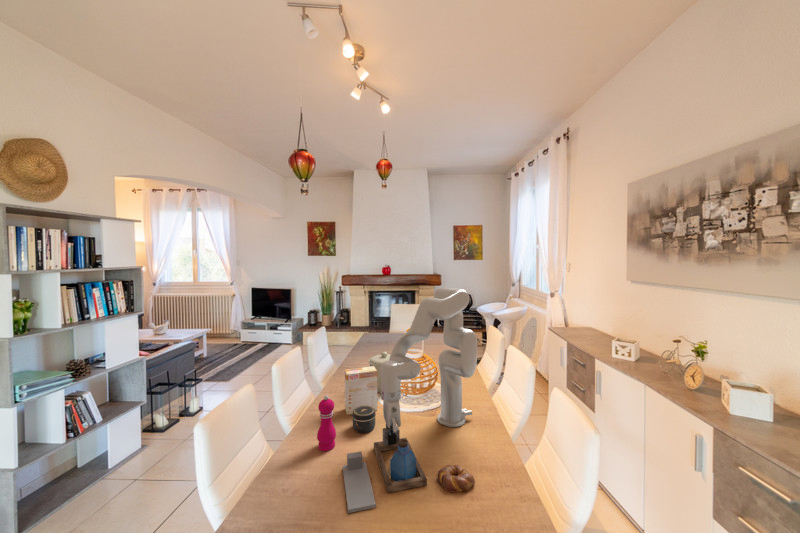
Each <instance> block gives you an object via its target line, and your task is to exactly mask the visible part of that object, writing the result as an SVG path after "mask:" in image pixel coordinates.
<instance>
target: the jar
mask: <svg viewBox="0 0 800 533" xmlns="http://www.w3.org/2000/svg"><path fill="white" fill-rule="evenodd" d="M351 415H352V416H351V417H352V428H353V430H354V432H356V433H359V434H367V433H371V432H372V431H373V430H374V429H375V426H376V410H375V409H374V408H373V407H371V406H359V407H357V408H355V409H354V410H353V413H352V414H351Z"/></svg>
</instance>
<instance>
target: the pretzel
mask: <svg viewBox="0 0 800 533" xmlns="http://www.w3.org/2000/svg"><path fill="white" fill-rule="evenodd" d="M437 481H438V483H439V484H440V485H441V486H442V488H443V489H444V490H445V491H447V492H451V493H455V492H457V491H458V492H462V491H463V492H467V491H469V490H470V488H471V487H473V486H474V485H475V482H476V481H475V477H474V475H473V474H472V473H469V471H468V469H466V468H463V467H461V466H460V465H458V464H453V465H451V464H447V465H444V466H442V467H441V468H440V469H439V470H438V471H437Z"/></svg>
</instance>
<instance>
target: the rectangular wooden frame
mask: <svg viewBox="0 0 800 533" xmlns="http://www.w3.org/2000/svg"><path fill="white" fill-rule="evenodd" d="M399 428H400V427H398V426H397V425H396V429H397V433H396V444H392V445H388V434H389V428H386V427H383V428H382V441H375V442H373V449H374V453H375V457H376V459H377V463H378V466H379V470H380V472H381V476H382V480H383V483H384V486H385V489H386V493H388V494H389V493H392V492H393V493H394V492H398V491H403V490H404V491H405V490H410V489H415V488H420V487H424V486H428V478H427V477H426V476H427V475H426V474H425V472H424V470H423V468H422V465H421V464H420V462H419V460H418V458H417V456H416V454H415V452H414V450H413V448H412V446H411V444H410V442H409V440H408V439H407V437H402V438H401V437H400V435H401V434H400V429H399ZM392 429H393V428H391V430H392ZM400 439H406V440H407V441H408V443H407V444H408V449H409V450H411V451H412V452H413V454H414V455H415V457H416V476H417V477H414V478H411V479H406V480H401V481H392V480H391V479H390V474H389V473H388V469H387V466H386V463H385V461H384V460H385V459H384V458H383V454H382V452H385V451H391V450H398V444H399V443H398V441H399V440H400Z"/></svg>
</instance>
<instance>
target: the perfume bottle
mask: <svg viewBox="0 0 800 533" xmlns="http://www.w3.org/2000/svg"><path fill="white" fill-rule="evenodd" d="M407 440H408V439H407ZM407 440H406V439H400V440H399V441H398V443H399V444H398V449H396V451H394V453H393V455H392V456H391V458H390V460H389V468H390V469H389V478H390V480H391V481H393V482H395V481H401V480H406V479H411V478H416V476H417V473H416V458H417V456H416V454H415V453H414V454H415V455H414V454H413V452H414V451H413V452H412V451H411V450H409V449H408V444H407V443H408V442H409V440H408V441H407ZM415 456H416V457H415Z"/></svg>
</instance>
